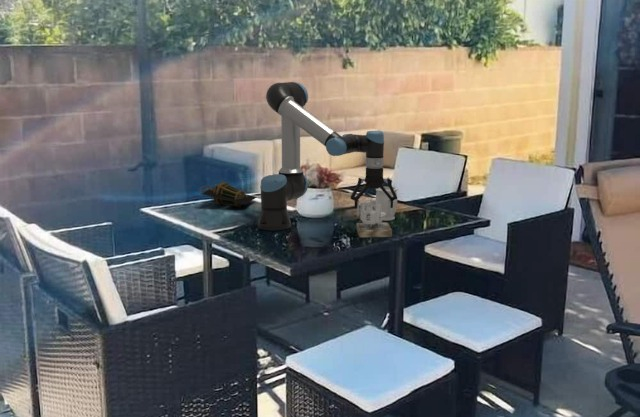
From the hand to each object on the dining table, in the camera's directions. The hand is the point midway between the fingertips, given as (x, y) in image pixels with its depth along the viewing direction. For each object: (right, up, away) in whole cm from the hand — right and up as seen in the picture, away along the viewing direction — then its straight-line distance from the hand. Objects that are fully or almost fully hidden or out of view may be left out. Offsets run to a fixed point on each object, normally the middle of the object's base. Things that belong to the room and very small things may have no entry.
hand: (373, 215), depth 294 cm
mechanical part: (0, -5, +1) cm, 5 cm away
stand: (0, -8, +2) cm, 8 cm away
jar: (+8, -2, +28) cm, 30 cm away
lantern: (-74, +5, +62) cm, 96 cm away
